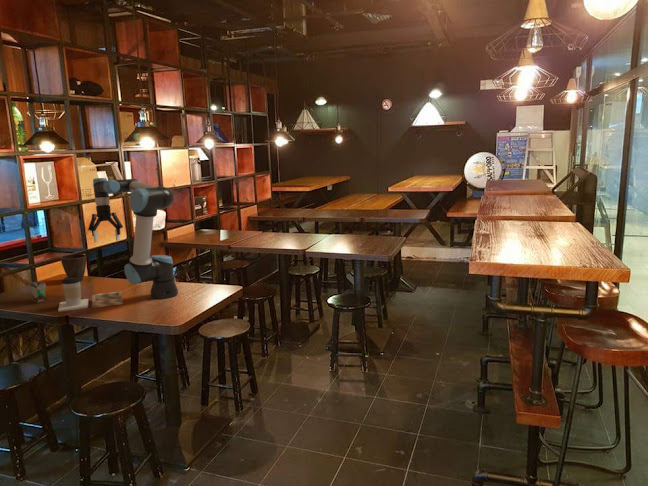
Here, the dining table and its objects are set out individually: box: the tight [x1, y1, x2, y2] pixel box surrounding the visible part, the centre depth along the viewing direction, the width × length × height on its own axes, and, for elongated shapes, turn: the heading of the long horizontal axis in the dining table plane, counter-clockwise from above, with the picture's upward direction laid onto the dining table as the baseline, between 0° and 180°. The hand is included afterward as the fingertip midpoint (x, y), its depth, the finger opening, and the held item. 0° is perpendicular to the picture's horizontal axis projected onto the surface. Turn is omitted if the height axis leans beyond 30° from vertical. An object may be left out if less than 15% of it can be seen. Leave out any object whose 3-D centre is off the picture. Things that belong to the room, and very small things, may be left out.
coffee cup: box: [61, 276, 82, 306], centre depth 265 cm, size 9×9×15 cm
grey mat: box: [57, 298, 89, 312], centre depth 267 cm, size 14×14×1 cm
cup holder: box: [91, 291, 124, 309], centre depth 273 cm, size 15×15×3 cm
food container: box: [29, 281, 47, 304], centre depth 276 cm, size 12×6×10 cm, turn 47°
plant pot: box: [59, 253, 87, 282], centre depth 316 cm, size 15×15×16 cm
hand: (107, 241), depth 289 cm, fingers open, 13 cm apart
